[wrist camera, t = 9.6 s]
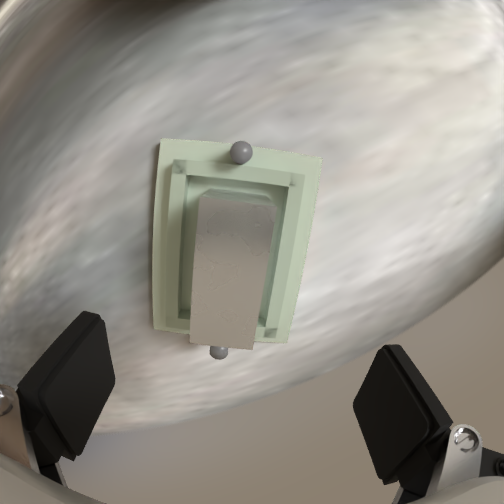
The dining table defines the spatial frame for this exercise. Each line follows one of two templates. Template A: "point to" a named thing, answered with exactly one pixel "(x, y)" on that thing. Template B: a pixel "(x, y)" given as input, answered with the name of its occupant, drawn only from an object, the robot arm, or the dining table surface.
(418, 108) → the dining table surface
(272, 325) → the tray
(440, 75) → the dining table surface
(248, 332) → the block
